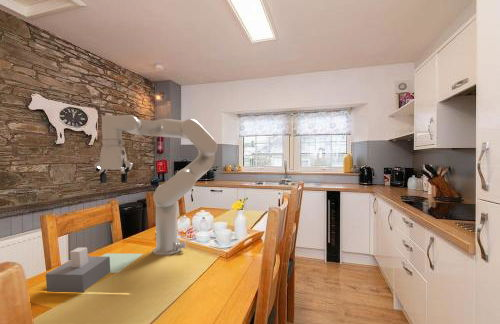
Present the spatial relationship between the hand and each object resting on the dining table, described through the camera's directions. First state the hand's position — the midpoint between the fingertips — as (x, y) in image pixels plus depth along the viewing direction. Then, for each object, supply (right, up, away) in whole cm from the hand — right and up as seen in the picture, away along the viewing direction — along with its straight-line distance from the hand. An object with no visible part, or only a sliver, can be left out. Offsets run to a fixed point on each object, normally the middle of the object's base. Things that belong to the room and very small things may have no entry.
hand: (113, 182), depth 105 cm
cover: (0, -33, -21) cm, 39 cm away
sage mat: (+2, -33, -6) cm, 34 cm away
